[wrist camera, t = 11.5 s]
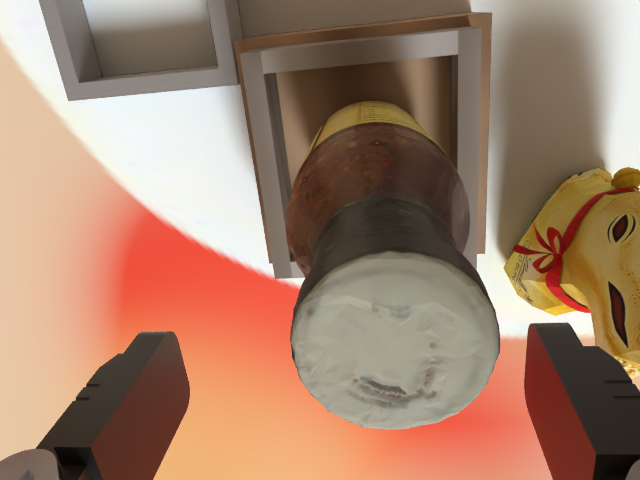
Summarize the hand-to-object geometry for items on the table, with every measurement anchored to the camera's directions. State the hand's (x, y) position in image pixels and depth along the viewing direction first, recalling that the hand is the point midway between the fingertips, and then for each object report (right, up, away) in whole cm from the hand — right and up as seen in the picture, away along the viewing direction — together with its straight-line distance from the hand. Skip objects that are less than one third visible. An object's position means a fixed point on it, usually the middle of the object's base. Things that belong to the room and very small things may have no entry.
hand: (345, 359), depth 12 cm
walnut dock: (+3, +10, +22) cm, 24 cm away
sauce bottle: (+2, +8, +17) cm, 18 cm away
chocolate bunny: (+15, +4, +23) cm, 28 cm away
